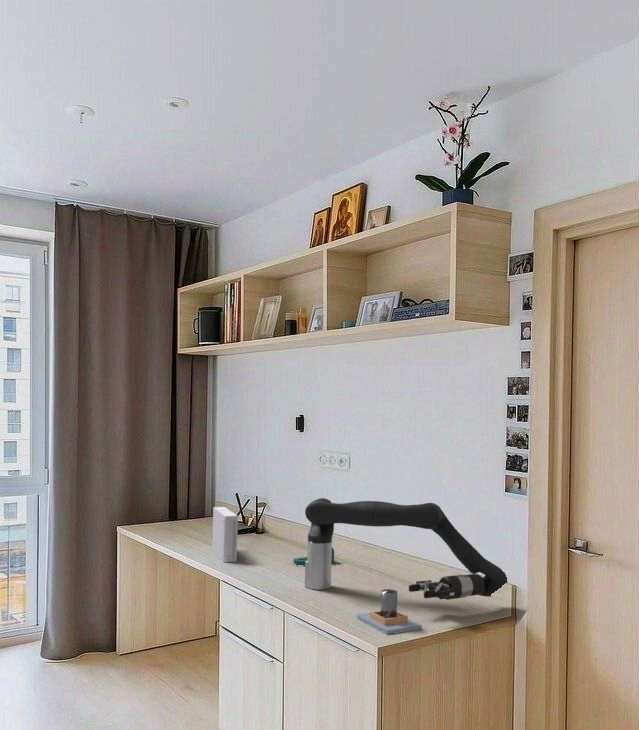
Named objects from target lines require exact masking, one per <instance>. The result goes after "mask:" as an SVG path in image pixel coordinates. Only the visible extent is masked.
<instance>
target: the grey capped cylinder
mask: <svg viewBox="0 0 639 730" xmlns="http://www.w3.org/2000/svg"><path fill="white" fill-rule="evenodd" d="M380 611H381V617H383V618H392V617H397V611H398V590H395V589H393V588H387V589H386V588H385V589H381V590H380Z"/></svg>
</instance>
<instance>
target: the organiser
mask: <svg viewBox="0 0 639 730" xmlns="http://www.w3.org/2000/svg"><path fill="white" fill-rule="evenodd" d="M357 618H358V619H357ZM356 619H357V620H359V619H360V621H361V620H362V621H361V622H363V621H364V622H363V623H365V622H366V623H365V624H367V623H368V624H370V625H371V626H370V625H369V626H370V627H372V626H373V627H372V628H374V627H375V628H374V629H376V628H377V629H376V630H378V629H379V630H381V631H383V632H385V633H386V634H385V633H384V634H385V635H390V634H389V633H393V634H397V633H396V632H399V633H405V632H404V631H406V632H412V631H417V630H418V629H419V630H422V627H423V626H422V624H420V623H418V622H416V621H414V620H412V619H410V618H409V616H408V615H406V614H405V613H402V612H401V611H398V610H397V617H392V618H383V617H381V610H375V611H370V612H365V613H359V614H358V613H357V614H356ZM368 624H367V625H368ZM379 630H378V631H379ZM411 630H412V631H411ZM381 631H380V632H381ZM383 632H382V633H383Z"/></svg>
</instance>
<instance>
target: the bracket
mask: <svg viewBox="0 0 639 730" xmlns="http://www.w3.org/2000/svg"><path fill="white" fill-rule="evenodd" d="M307 558H308V556H303V557H296V558H293V563H294V564H296V565H305V562H306V561H307ZM331 562H334V563H335V549H334V547H332V559H331ZM294 564H293V565H294ZM296 565H295V566H296Z"/></svg>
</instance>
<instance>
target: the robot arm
mask: <svg viewBox="0 0 639 730" xmlns="http://www.w3.org/2000/svg"><path fill="white" fill-rule="evenodd" d="M304 512H305V513H304V514H305V518H306V519H307V521H309V522H310V529H309V532H308V535H307V557H308V558H307V561H306V562H305V566H304V588H305V587H306V588H308V589H311V590H318V591H319V590H322V591H323V590H327V589H331V588H332V563H331V559H332V548H333V544H332V543H333V535H334V530H335V524H344V525H345V524H346V525H352V526H364V527H377V528H378V527H395V526H396V527H397V526H405V527H414V528H420V529H425V530H431V531H433V532H434V533H435V534H437V535H438V536H439V538H440V539H442V541H443V542H444V543H445V545H447V547H448V548H449V550H450V552H452V554H453V555H454V556H455V558H457V560H458V561H459V562H460V564H462V566H464V567H465V569H467V571H468V572H470V573H469V574H456V575H455V574H454V575H447V576H442V577H441V578H440V580H439V581H432V580H431V579H430V580H429V579H428V580H417V581H415V583H413V584H409V585H408V592H410V593H413V592H414V593H415V592H423V599H432V598H434V599H439V600H447V601H449V600H455V599H462V598H463V599H464V598H468V597H472V596H473V597H474V596H481V597H486V598H487V597H488V598H489V597H492V596H491V594H492V593H494V592H495V591H497V590H498V589H499V588H501V587H502V585H504V584H505V583H507V582H508V581H507V579H508V576H507V574H506V573H505V571H504V570H503V569H502V568H500V567H499V566H497V565H496V564H494V563H493V562H491V561H490V560H488V559H487V558H485V557H484V556H483V555H482V554H481V553H480V552H479V551H478V550H477V549H476V548H475V547H474V546H473V545H472V544H471V543H470V542H469V541H468V539H466V538H465V537H464V536H463V535H462V534H461V533H460V532H459V531H458V530H457V528H455V526H454V525H453V524H452V522H451V521H450V520H449V519H448V517H447V515H446V514H445V513H444V511H443V510H442V509H441V507H440V506H439V505H438V504H436V503H433V502H426V503H425V502H424V503H420V504H404V505H403V504H397V503H394V502H393V503H392V502H389V501H387V502H386V501H379V500H361V501H352V502H344V503H338V502H337V503H336V502H332V501H331V500H330V499H328V498H324V497H321V498H320V497H319V498H318V499H315V500H312V501H310V502H309V503H308V504H307V505H306V508H305V511H304ZM502 570H503V571H504V572H503V571H502ZM478 573H480V574H483V575H484V576H481V575H479V574H478ZM505 574H506V575H505ZM506 576H507V577H506ZM507 584H508V583H507Z"/></svg>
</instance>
